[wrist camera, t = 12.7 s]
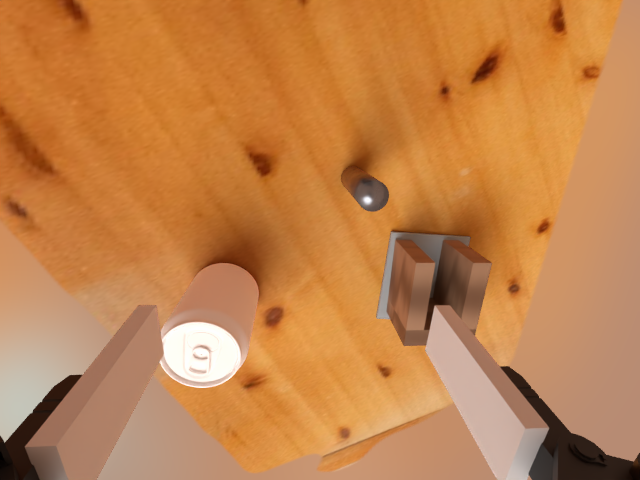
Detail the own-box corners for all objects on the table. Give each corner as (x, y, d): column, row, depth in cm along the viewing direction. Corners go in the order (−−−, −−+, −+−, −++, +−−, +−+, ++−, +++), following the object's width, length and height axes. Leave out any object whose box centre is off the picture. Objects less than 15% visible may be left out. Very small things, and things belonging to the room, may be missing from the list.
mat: (390, 231, 39) (391, 232, 38) (468, 236, 40) (470, 237, 39) (376, 316, 43) (377, 318, 42) (447, 319, 44) (448, 320, 43)
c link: (445, 310, 43) (472, 344, 36) (386, 311, 42) (403, 345, 35) (458, 240, 39) (491, 263, 33) (395, 239, 39) (416, 262, 32)
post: (342, 165, 36) (360, 179, 26) (365, 167, 36) (391, 182, 27) (339, 188, 36) (356, 210, 27) (362, 190, 37) (386, 212, 27)
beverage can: (265, 268, 39) (254, 326, 28) (252, 323, 42) (237, 397, 30) (197, 254, 38) (157, 308, 26) (188, 312, 40) (147, 385, 29)
